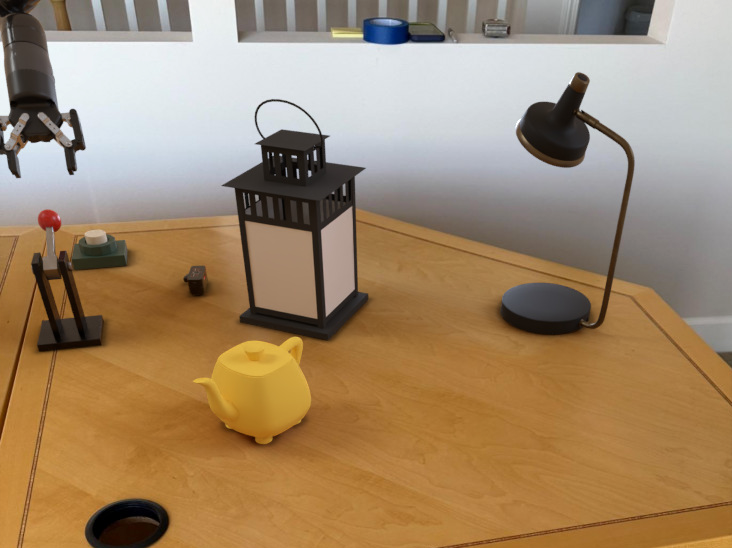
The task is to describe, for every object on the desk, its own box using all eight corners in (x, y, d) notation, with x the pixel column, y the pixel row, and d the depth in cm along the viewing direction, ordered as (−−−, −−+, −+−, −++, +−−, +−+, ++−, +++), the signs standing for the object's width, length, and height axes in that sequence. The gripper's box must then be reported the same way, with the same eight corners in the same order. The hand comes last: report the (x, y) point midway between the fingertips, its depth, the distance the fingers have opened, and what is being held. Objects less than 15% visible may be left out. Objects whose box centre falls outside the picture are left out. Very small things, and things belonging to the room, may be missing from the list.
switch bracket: (44, 326, 135) (19, 248, 126) (103, 321, 137) (83, 243, 127) (39, 351, 128) (12, 271, 119) (101, 345, 130) (79, 265, 121)
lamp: (533, 284, 150) (564, 55, 124) (627, 324, 138) (683, 79, 112) (477, 309, 141) (497, 69, 116) (572, 353, 130) (618, 97, 104)
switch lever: (41, 221, 130) (34, 205, 127) (63, 220, 131) (57, 203, 127) (44, 283, 125) (37, 267, 122) (67, 281, 126) (61, 265, 123)
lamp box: (74, 270, 152) (68, 250, 150) (77, 254, 158) (71, 234, 155) (126, 265, 154) (122, 246, 151) (127, 250, 160) (123, 230, 157)
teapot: (176, 439, 110) (159, 362, 102) (274, 381, 122) (265, 308, 114) (243, 474, 104) (230, 395, 96) (338, 410, 116) (335, 335, 108)
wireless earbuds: (209, 280, 150) (206, 263, 147) (204, 296, 144) (201, 279, 142) (184, 280, 149) (181, 264, 147) (179, 296, 144) (176, 280, 142)
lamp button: (86, 246, 152) (83, 237, 151) (87, 239, 155) (84, 230, 154) (107, 245, 153) (105, 236, 151) (107, 237, 155) (105, 228, 154)
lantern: (368, 299, 144) (364, 87, 121) (328, 340, 132) (315, 114, 109) (286, 283, 149) (267, 77, 125) (240, 322, 137) (209, 101, 113)
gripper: (-23, 68, 125) (-9, 165, 125) (69, 65, 128) (83, 159, 127) (-7, 97, 133) (6, 188, 132) (79, 93, 135) (93, 183, 135)
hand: (44, 174), depth 130 cm, fingers open, 8 cm apart
